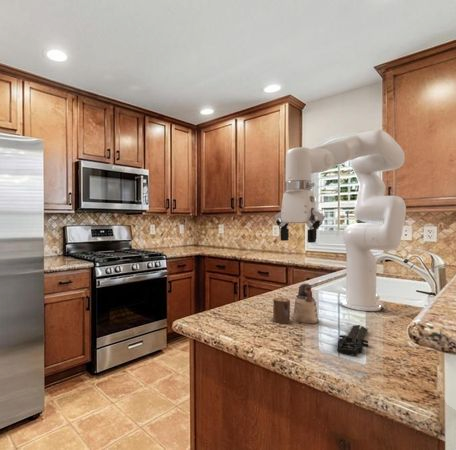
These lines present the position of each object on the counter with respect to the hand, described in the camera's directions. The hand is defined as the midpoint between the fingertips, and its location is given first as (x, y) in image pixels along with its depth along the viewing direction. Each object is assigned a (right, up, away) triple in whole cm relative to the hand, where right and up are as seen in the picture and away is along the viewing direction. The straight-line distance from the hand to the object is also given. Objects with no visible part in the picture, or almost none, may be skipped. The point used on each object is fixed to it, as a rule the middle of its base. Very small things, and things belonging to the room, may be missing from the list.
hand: (297, 241), depth 99 cm
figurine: (+4, -26, +3) cm, 26 cm away
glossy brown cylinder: (-5, -26, +1) cm, 26 cm away
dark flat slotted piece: (+9, -26, -14) cm, 31 cm away
